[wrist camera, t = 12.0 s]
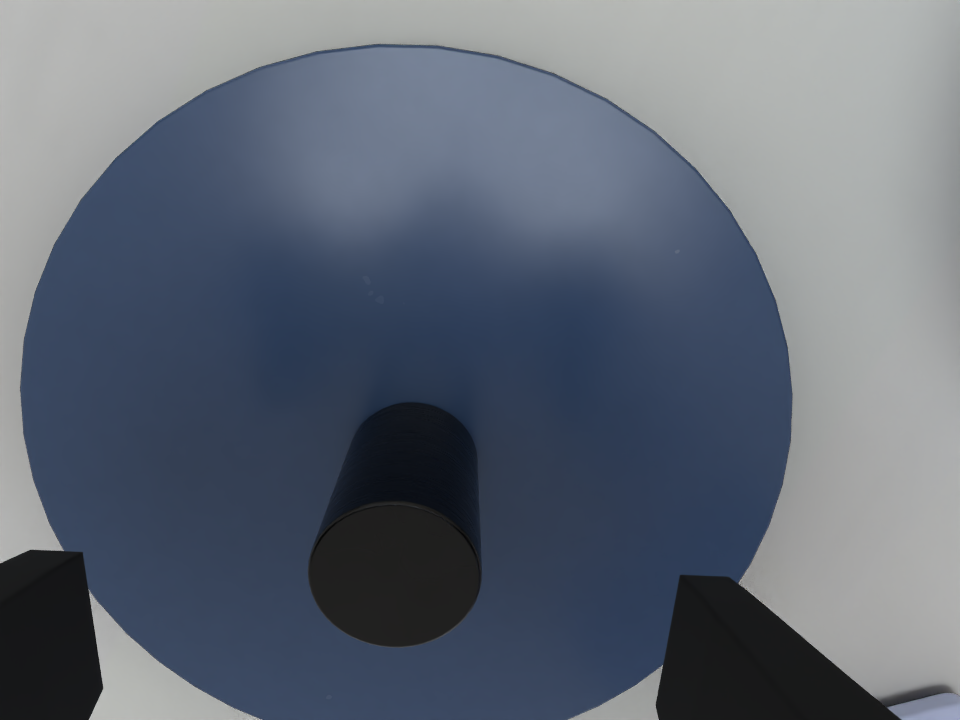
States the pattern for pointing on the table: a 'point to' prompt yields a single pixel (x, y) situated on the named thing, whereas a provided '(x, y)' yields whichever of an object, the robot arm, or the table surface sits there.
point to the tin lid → (404, 389)
